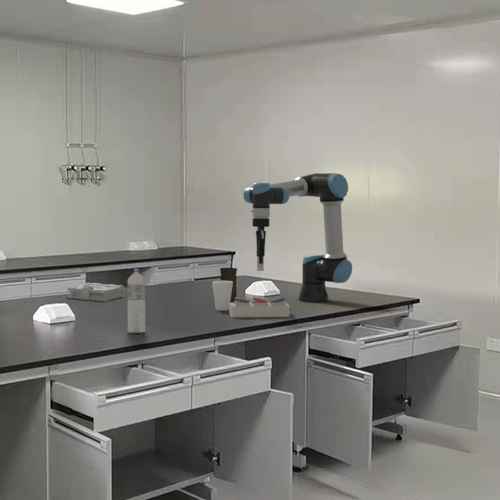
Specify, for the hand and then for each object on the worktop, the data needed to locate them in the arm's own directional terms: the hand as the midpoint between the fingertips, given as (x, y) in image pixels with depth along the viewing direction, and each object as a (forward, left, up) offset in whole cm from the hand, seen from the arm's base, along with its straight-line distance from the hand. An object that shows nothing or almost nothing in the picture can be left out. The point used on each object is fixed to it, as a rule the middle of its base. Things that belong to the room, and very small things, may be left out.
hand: (260, 270), depth 339 cm
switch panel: (0, -2, -20) cm, 21 cm away
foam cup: (+15, -19, -21) cm, 32 cm away
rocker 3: (-8, 0, -13) cm, 15 cm away
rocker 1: (+8, 0, -13) cm, 15 cm away
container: (+11, -31, -21) cm, 39 cm away
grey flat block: (+78, -61, -21) cm, 101 cm away
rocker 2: (0, 0, -13) cm, 13 cm away
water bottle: (+54, +34, -21) cm, 67 cm away
